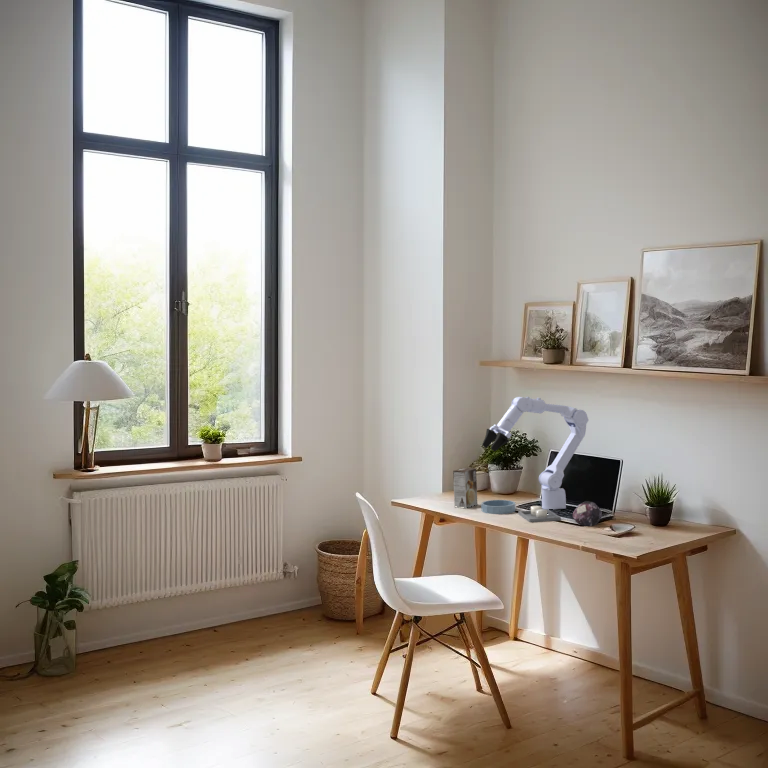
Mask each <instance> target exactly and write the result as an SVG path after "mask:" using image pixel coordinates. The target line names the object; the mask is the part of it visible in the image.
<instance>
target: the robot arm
mask: <svg viewBox="0 0 768 768" xmlns="http://www.w3.org/2000/svg"><path fill="white" fill-rule="evenodd" d="M526 412H527V413H534V414H543V413H545V412H550V413H557V414H560V416H561V417H563V419H564V421H565V422H566V425H567V426H568V427H569V430H570V433H569V435H568V437H567V439H566V440H565V442H564V443H563V445H562V447H561V449H560V450H559V452H558V453H557V455H556V457H555V458H554V460H553V462H552V463H551V464H550V465H548V466H546V468H545V470H544V471H542V472H541V473H540V474H539V476H538V482H539V484H540V485H541V507H542V509H553V510H561V509H567V498H566V497H567V496H566V490H565V489H564V488H563V487H562V488H561V486H562V483H563V478H564V477H565V474H564V473H565V472H564V471H565V469H566V468H567V466H568V464H569V462H570V460H572V457H573V456H574V454H575V452H576V451H577V449H578V447H579V446H580V444H581V443H582V441H583V439H584V437H585V436H586V431H587V424H588V422H589V417H588V414H587V412H586V411H585V410H584V409H578V408H577V407H573V406H569V405H563V404H562V405H561V404H556V403H555V404H554V403H547V402H545V400H544V399H542V398H541V397H536V398H532V397H530V396H526V397H524V396H516V397H515V398H512V400H511V404H510V406H509V408H508V409H507V411H506V412H505V413H504V414H503V416H502V418H501V419H500V420H499V422H497V424H493V426H490V427H489V428H486V432H485V435H484V436H485V437H484V439H483V442H482V444H481V445H482V446H483V447H484V448H485V449H487V448H488V447H489V446H490V445H491V444H492V445H491V447H490V449H491V450H492V451H493V452H496V451H498V449H500V448H501V447H502V446H504V445H506V444H508V443H509V442H510V438H511V437H512V433H511V430H512V429H513V428H514V426H515V425H516V424H517V422H518V421H519V419H520V418H521V416H523V414H524V413H526Z"/></svg>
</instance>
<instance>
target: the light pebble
mask: <svg viewBox="0 0 768 768" xmlns="http://www.w3.org/2000/svg"><path fill="white" fill-rule="evenodd" d="M537 509H543V508H542V505H532V506H530V510H531V516H536V510H537Z"/></svg>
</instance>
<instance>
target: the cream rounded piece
mask: <svg viewBox="0 0 768 768" xmlns="http://www.w3.org/2000/svg"><path fill="white" fill-rule="evenodd" d="M536 518H547V510H545V509H543V508H542V509H537V510H536Z"/></svg>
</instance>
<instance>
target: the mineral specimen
mask: <svg viewBox="0 0 768 768" xmlns="http://www.w3.org/2000/svg"><path fill="white" fill-rule="evenodd" d="M602 516H603V512H602V510H601V509H600V507H599V506H598V505H597V504H596V503H595V502H593V501H587V500H585V501H584V502H582V503H580V504H578V505H577V506H576V508H575V509H574V511H573V513H572V518H573V520H574V521H575V522H576V523H577V524H578V525H579V526H584V527H594V526H596V525H597V524H598V523H599V522H600V521H601V519H602Z"/></svg>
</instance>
